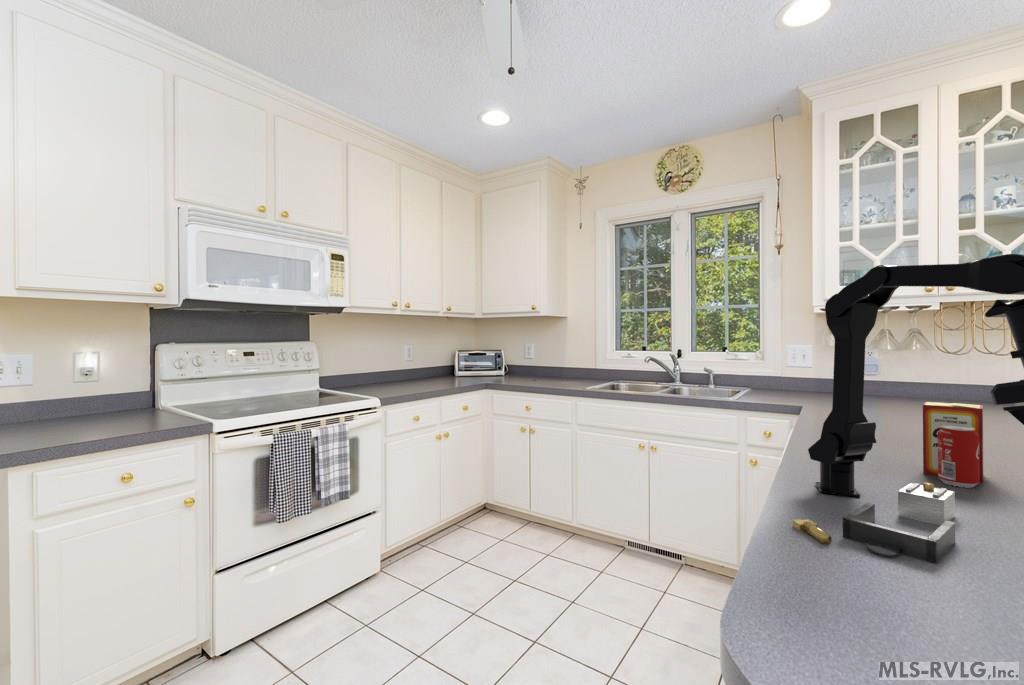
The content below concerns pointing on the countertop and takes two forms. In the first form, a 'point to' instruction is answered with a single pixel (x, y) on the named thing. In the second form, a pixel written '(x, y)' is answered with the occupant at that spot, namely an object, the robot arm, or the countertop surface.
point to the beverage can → (958, 456)
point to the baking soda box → (948, 415)
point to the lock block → (926, 503)
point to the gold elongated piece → (812, 530)
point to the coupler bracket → (896, 537)
